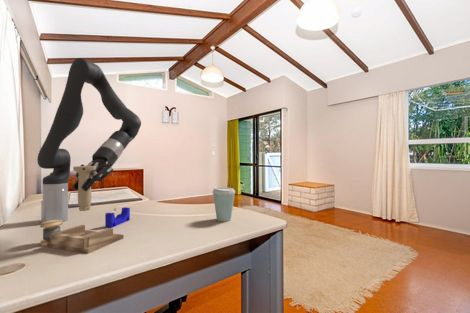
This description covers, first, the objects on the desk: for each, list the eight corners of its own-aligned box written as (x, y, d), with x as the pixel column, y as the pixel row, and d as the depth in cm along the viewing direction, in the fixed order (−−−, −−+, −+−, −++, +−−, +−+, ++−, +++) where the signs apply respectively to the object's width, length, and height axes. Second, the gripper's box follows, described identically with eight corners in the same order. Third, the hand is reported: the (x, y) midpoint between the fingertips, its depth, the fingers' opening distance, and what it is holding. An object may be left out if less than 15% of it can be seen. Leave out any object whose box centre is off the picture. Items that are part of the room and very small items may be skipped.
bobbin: (35, 244, 78) (35, 223, 78) (54, 238, 83) (54, 219, 83) (48, 246, 76) (48, 225, 76) (66, 240, 82) (66, 220, 82)
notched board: (46, 246, 76) (46, 233, 76) (85, 233, 89) (85, 222, 90) (88, 253, 71) (88, 239, 71) (123, 238, 84) (123, 226, 84)
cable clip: (121, 219, 109) (121, 207, 109) (129, 220, 108) (129, 207, 108) (102, 227, 97) (102, 213, 97) (111, 228, 97) (111, 213, 97)
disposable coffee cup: (235, 216, 114) (234, 186, 114) (235, 222, 103) (235, 189, 103) (213, 216, 114) (213, 186, 114) (211, 223, 103) (211, 189, 103)
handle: (74, 209, 80) (74, 166, 80) (96, 208, 83) (96, 165, 83) (72, 212, 76) (72, 166, 76) (95, 210, 79) (95, 166, 79)
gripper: (88, 146, 89) (55, 181, 77) (118, 145, 84) (88, 182, 73) (100, 159, 94) (71, 195, 82) (129, 160, 89) (102, 197, 78)
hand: (79, 189), depth 77 cm, fingers closed on handle, 3 cm apart
